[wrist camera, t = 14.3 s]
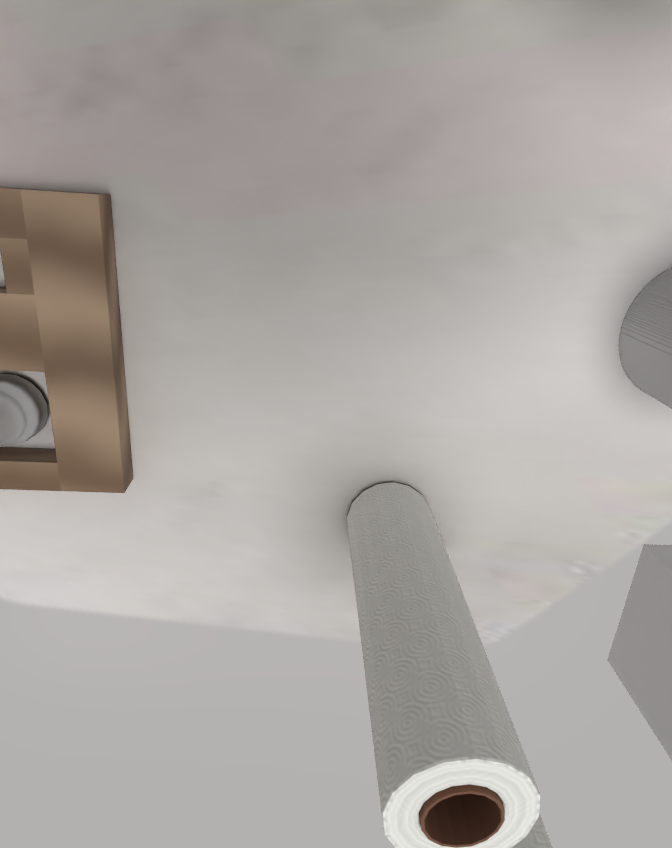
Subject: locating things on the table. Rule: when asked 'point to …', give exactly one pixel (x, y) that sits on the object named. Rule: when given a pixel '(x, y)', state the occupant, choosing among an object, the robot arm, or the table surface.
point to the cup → (650, 339)
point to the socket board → (65, 338)
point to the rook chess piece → (20, 410)
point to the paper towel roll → (433, 690)
